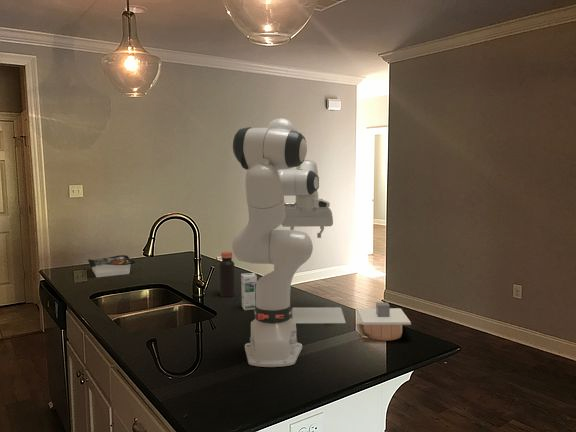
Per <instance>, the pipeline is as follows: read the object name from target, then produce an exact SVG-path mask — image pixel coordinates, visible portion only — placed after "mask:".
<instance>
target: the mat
mask: <svg viewBox="0 0 576 432" xmlns="http://www.w3.org/2000/svg"><path fill="white" fill-rule="evenodd" d="M291 309H292V313H291V314H292V316H291V318H292V319H293V320H294V321H295V322H296V324H347V322H346V319H345V316H344V313H343V310H342V309H343V308H342V307H340V306H339V307H337V306H335V307H331V306H330V307H327V306H326V307H291Z"/></svg>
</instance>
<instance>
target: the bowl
mask: <svg viewBox="0 0 576 432" xmlns="http://www.w3.org/2000/svg"><path fill="white" fill-rule="evenodd" d="M363 332H364V334H365V336H366V337H367V338H369V339H372V340H376V341H384V342H385V341H389V342H390V341H395V340H398V339H401V338H402V335H403V325H363Z"/></svg>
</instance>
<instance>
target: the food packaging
mask: <svg viewBox="0 0 576 432" xmlns="http://www.w3.org/2000/svg"><path fill="white" fill-rule="evenodd" d="M87 261H88V264H89V266H90V268H91V269H92V272H93V274H94V275H95V278H104V277H105V278H106V277H115V276H125V275H130V271H131V265H135V264H136V261H135V260H133V259H131V258H130V257H129V256H128V255H125V254H124V255H123V254H121V255H119V254H118V255H114V256H109V257H103V258H96V259H89V258H87Z"/></svg>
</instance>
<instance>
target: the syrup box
mask: <svg viewBox="0 0 576 432" xmlns="http://www.w3.org/2000/svg"><path fill="white" fill-rule="evenodd" d="M240 279H241V280H240V282H241V283H240V284H241V307H242V309H243V310H244V311H250V310H251V311H253V310H255V305H256V283H257V281H258V275H257V274H256V273H255V272H252V273H251V272H250V273H241V274H240Z"/></svg>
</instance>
